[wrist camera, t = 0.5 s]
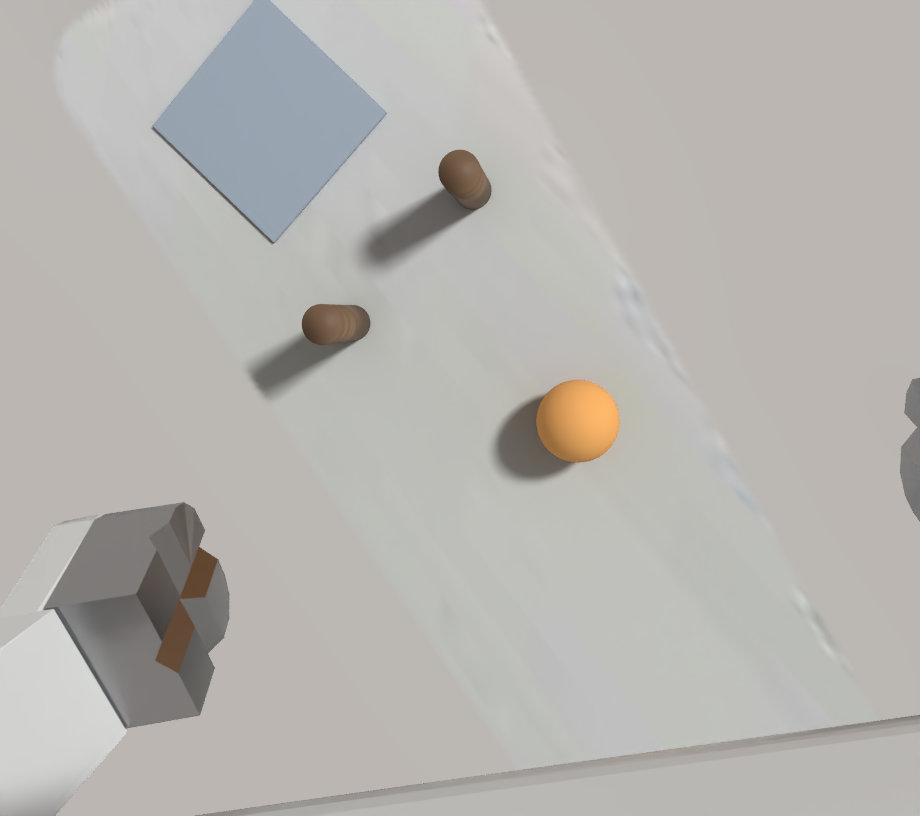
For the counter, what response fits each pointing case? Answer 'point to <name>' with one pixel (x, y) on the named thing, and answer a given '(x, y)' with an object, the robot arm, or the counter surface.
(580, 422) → the ball
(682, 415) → the counter surface
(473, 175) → the post
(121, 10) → the counter surface
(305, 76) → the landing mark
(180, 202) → the counter surface
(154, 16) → the counter surface
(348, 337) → the post
